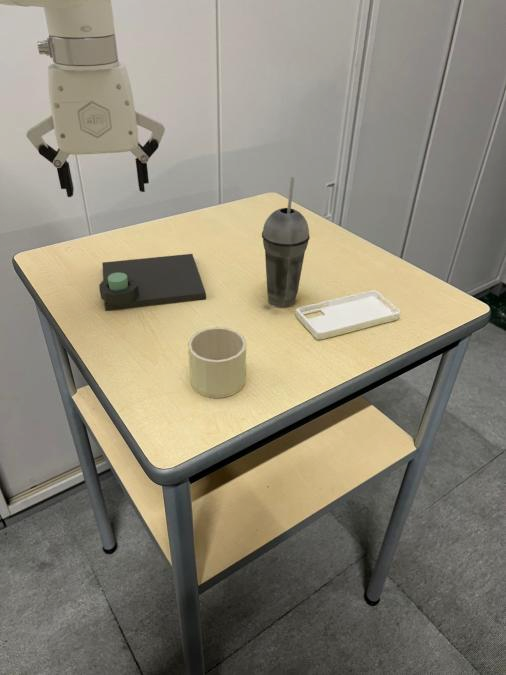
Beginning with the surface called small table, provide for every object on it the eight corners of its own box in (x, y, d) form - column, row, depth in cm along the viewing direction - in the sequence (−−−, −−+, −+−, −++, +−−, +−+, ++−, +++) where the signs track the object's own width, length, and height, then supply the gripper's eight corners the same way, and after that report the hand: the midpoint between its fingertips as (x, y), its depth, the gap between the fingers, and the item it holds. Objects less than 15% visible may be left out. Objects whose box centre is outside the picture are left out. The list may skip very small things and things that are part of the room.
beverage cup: (251, 304, 83) (254, 183, 72) (271, 284, 89) (277, 168, 77) (292, 317, 81) (302, 193, 69) (310, 295, 86) (322, 176, 74)
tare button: (109, 292, 81) (107, 282, 79) (108, 283, 83) (107, 273, 82) (129, 290, 81) (127, 280, 80) (127, 281, 83) (126, 271, 82)
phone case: (317, 341, 76) (400, 319, 81) (318, 333, 75) (402, 311, 80) (294, 315, 81) (373, 296, 86) (294, 307, 80) (375, 289, 85)
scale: (102, 312, 81) (99, 296, 79) (100, 268, 92) (98, 253, 90) (206, 300, 84) (206, 284, 82) (192, 259, 95) (191, 244, 94)
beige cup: (195, 402, 65) (193, 365, 61) (187, 366, 71) (184, 331, 67) (251, 393, 67) (252, 357, 63) (238, 359, 72) (238, 324, 69)
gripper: (3, 58, 57) (39, 206, 67) (161, 55, 61) (172, 196, 71) (12, 48, 63) (43, 185, 73) (155, 46, 66) (166, 177, 77)
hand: (106, 190), depth 72 cm, fingers open, 9 cm apart
